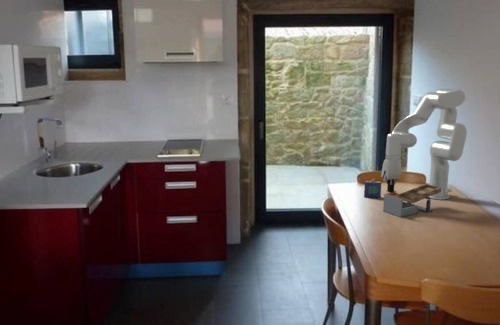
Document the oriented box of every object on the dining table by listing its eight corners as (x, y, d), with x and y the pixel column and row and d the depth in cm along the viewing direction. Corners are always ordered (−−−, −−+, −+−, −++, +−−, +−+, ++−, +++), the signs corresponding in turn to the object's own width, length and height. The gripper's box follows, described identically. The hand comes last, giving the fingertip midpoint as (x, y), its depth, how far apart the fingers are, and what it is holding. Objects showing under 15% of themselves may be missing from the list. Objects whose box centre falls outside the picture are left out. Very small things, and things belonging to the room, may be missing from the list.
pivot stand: (409, 204, 278) (410, 193, 276) (432, 211, 265) (433, 200, 264) (404, 205, 276) (405, 194, 274) (427, 212, 263) (427, 201, 262)
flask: (380, 196, 293) (381, 178, 290) (381, 198, 290) (382, 179, 287) (363, 196, 293) (364, 178, 291) (364, 198, 290) (365, 179, 288)
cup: (399, 207, 272) (400, 191, 270) (416, 213, 262) (418, 196, 260) (383, 211, 266) (384, 194, 264) (400, 217, 256) (401, 199, 254)
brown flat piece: (412, 185, 286) (412, 180, 285) (444, 193, 269) (444, 188, 268) (384, 196, 276) (384, 190, 275) (415, 205, 259) (415, 200, 258)
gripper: (397, 154, 278) (395, 188, 281) (377, 157, 270) (374, 191, 273) (408, 157, 271) (405, 191, 275) (387, 159, 264) (385, 195, 267)
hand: (390, 191), depth 274 cm, fingers closed
